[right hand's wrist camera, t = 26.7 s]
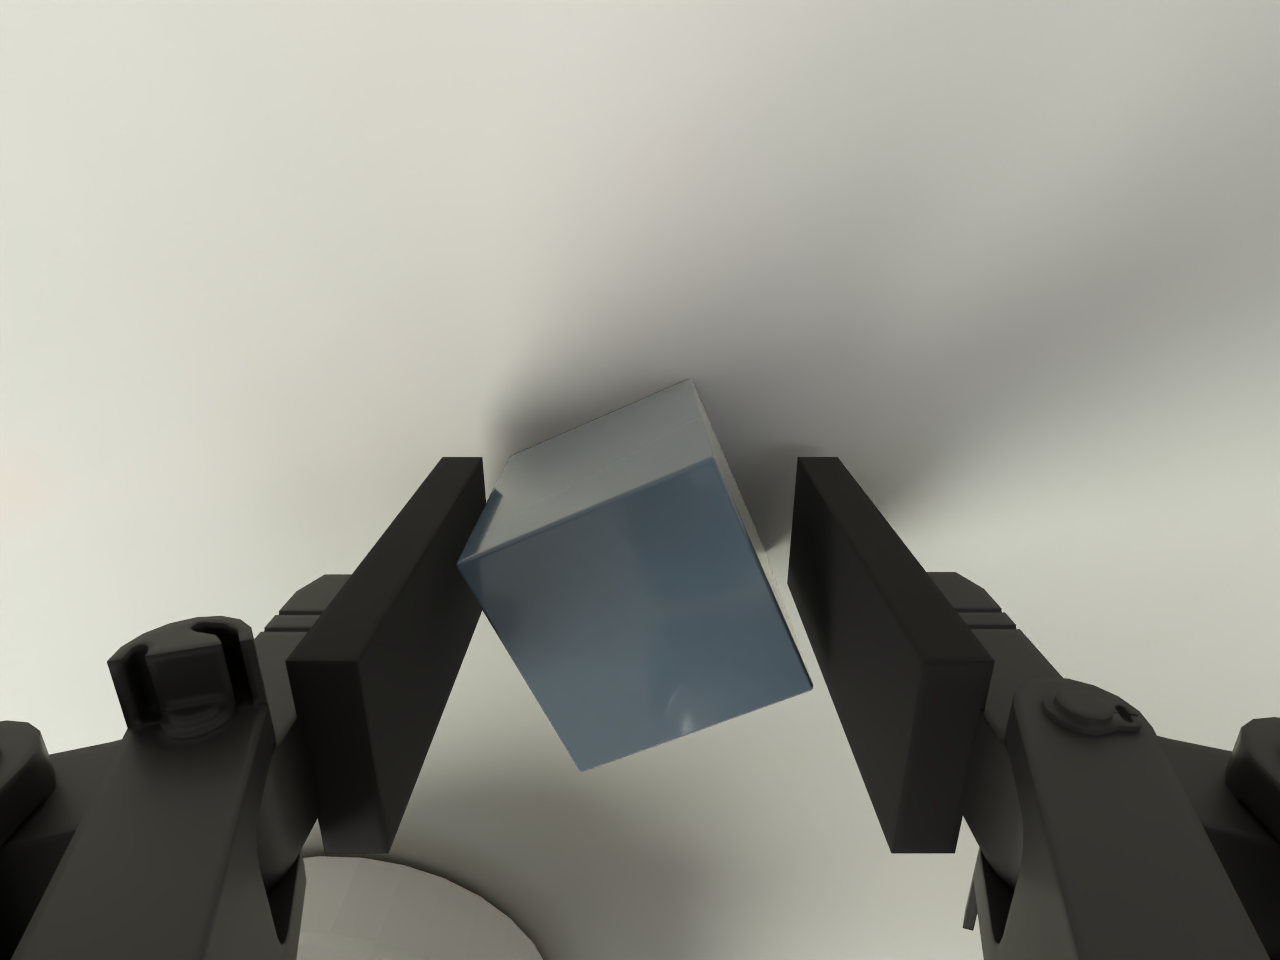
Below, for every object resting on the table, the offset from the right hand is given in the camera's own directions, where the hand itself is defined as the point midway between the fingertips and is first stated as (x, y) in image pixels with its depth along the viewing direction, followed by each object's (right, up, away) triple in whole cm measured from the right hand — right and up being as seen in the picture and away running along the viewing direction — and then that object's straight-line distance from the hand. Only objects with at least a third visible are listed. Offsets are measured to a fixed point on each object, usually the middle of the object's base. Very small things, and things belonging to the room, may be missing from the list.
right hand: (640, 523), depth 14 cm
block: (0, 0, +1) cm, 1 cm away
